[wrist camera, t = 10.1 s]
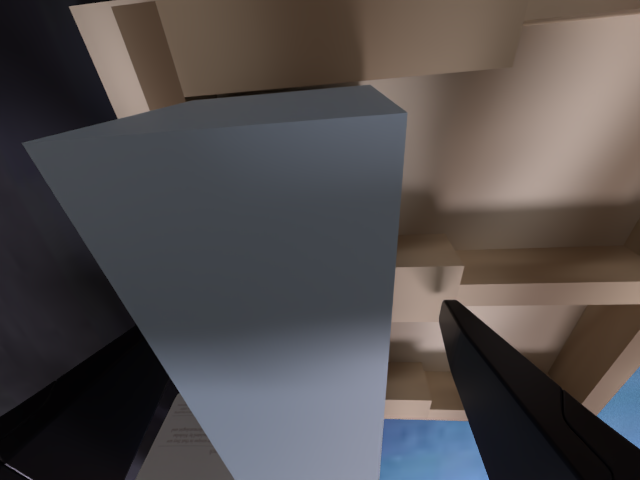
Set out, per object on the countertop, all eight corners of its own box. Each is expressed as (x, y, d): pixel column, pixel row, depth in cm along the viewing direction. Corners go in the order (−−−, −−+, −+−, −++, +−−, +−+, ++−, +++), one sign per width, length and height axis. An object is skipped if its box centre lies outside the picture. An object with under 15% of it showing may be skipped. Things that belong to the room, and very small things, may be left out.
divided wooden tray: (918, -98, 6) (1241, -188, 4) (579, 379, 16) (618, 430, 13) (85, 9, 8) (-10, -10, 6) (236, 374, 18) (221, 418, 15)
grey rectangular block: (362, 79, 8) (407, 113, 3) (363, 357, 15) (375, 528, 9) (229, 91, 8) (21, 143, 3) (289, 357, 15) (260, 520, 10)
